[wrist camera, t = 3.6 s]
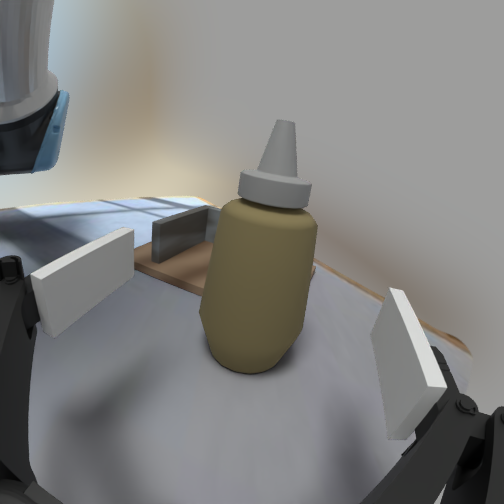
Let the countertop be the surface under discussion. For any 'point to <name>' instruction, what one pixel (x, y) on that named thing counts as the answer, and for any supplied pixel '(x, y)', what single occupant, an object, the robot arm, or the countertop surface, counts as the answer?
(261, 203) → the squeeze bottle
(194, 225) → the u rest
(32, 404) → the countertop surface
